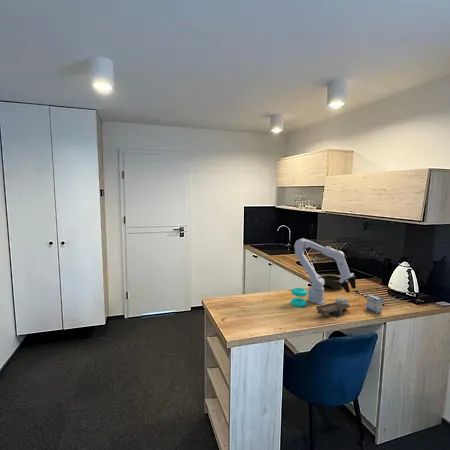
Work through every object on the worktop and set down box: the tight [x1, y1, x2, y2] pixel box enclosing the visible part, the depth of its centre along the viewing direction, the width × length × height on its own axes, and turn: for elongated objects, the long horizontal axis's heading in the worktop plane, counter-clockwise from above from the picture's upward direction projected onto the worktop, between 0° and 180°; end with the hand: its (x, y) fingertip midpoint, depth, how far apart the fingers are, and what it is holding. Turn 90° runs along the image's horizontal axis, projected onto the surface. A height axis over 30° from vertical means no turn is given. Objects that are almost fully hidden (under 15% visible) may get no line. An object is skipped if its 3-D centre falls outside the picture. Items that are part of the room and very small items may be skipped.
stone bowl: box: [319, 274, 343, 290], centre depth 239 cm, size 25×25×9 cm
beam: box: [315, 301, 351, 317], centre depth 185 cm, size 7×26×4 cm, turn 129°
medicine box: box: [365, 294, 384, 314], centre depth 190 cm, size 8×4×9 cm, turn 24°
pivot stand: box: [328, 308, 348, 318], centre depth 187 cm, size 11×16×4 cm
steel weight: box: [334, 297, 349, 306], centre depth 190 cm, size 4×7×4 cm, turn 129°
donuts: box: [290, 287, 308, 308], centre depth 197 cm, size 10×10×10 cm
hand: (351, 290), depth 193 cm, fingers open, 7 cm apart
